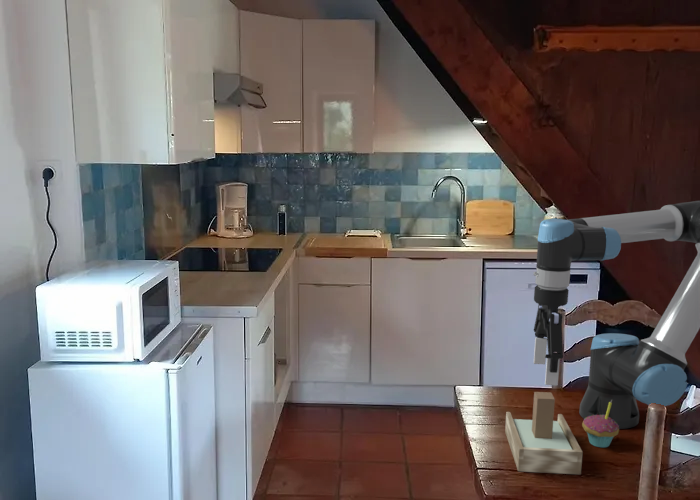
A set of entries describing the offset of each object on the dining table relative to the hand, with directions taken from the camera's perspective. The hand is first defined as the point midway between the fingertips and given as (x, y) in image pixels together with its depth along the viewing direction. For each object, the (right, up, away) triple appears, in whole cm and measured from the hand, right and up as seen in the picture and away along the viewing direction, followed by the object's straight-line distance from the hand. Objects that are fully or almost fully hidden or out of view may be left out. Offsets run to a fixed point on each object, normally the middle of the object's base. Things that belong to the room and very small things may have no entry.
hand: (545, 373), depth 157 cm
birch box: (0, -20, +4) cm, 20 cm away
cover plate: (0, -17, +3) cm, 17 cm away
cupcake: (+16, -19, +8) cm, 26 cm away
